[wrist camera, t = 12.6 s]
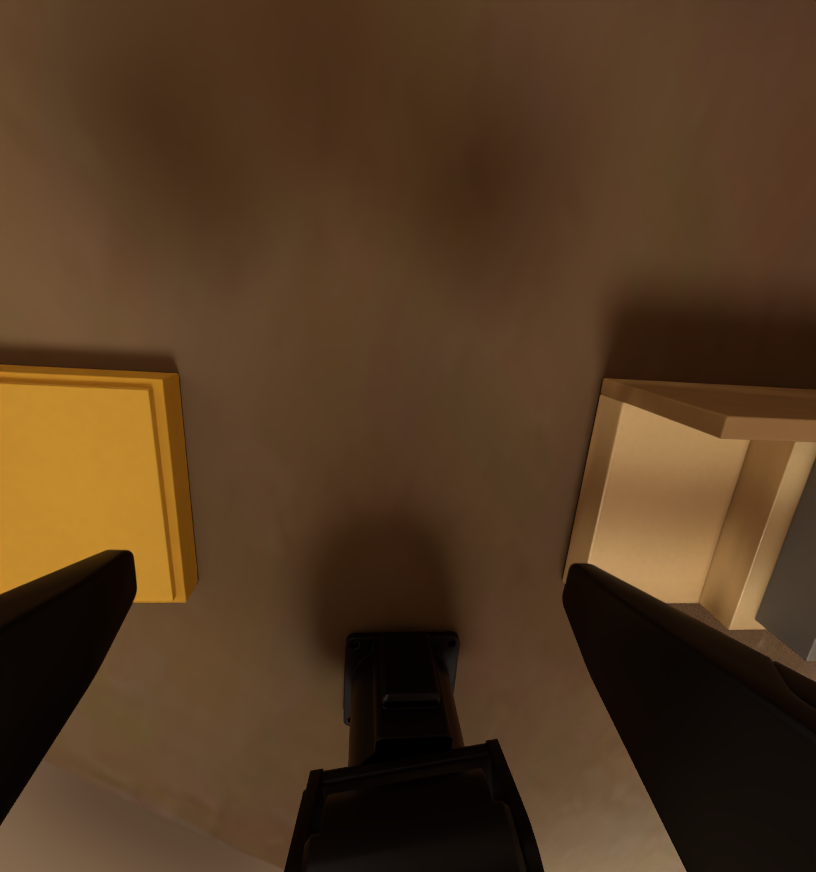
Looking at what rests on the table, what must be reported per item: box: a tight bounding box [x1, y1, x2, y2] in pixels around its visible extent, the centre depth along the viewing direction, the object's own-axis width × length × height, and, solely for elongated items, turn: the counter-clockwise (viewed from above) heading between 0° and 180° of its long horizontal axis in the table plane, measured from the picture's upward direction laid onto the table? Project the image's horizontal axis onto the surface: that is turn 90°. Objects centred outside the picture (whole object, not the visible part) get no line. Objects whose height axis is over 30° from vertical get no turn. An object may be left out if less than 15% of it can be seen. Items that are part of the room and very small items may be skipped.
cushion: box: [0, 365, 198, 603], centre depth 19 cm, size 11×12×2 cm
